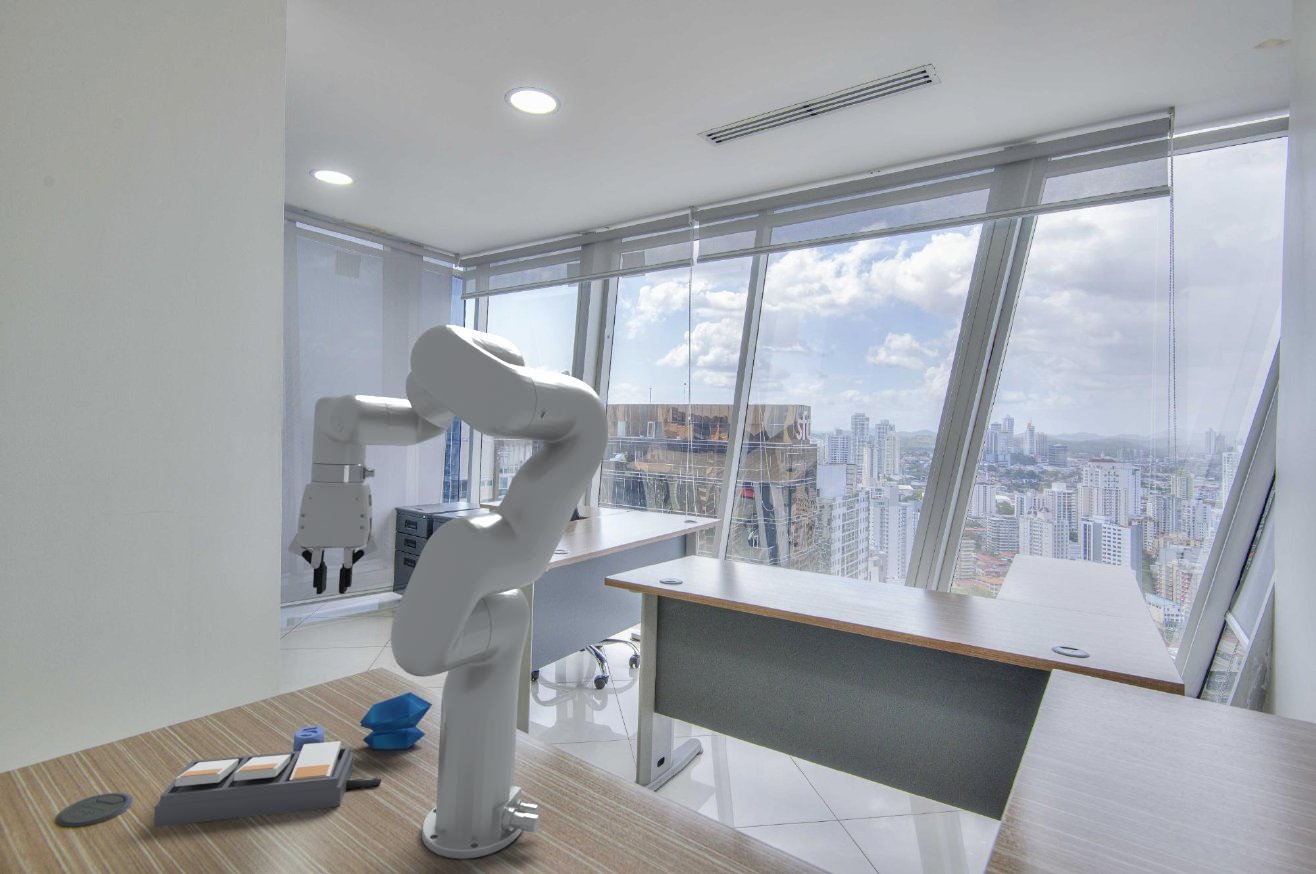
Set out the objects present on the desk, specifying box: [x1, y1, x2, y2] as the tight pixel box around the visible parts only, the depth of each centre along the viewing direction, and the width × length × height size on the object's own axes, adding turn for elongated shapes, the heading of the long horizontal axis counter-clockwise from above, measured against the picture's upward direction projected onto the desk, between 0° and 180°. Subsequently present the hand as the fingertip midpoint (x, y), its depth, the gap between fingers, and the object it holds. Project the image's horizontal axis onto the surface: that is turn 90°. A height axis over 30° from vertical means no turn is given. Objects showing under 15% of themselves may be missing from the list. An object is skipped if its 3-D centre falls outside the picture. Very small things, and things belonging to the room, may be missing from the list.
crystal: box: [359, 691, 433, 751], centre depth 99 cm, size 7×9×12 cm
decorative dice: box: [292, 725, 325, 752], centre depth 95 cm, size 4×4×4 cm
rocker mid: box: [234, 754, 291, 781], centre depth 84 cm, size 5×7×1 cm
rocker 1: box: [175, 759, 239, 786], centre depth 82 cm, size 5×7×1 cm
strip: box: [153, 746, 382, 828], centre depth 84 cm, size 26×9×4 cm, turn 106°
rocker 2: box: [289, 740, 342, 781], centre depth 86 cm, size 5×7×1 cm
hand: (332, 591), depth 97 cm, fingers closed
